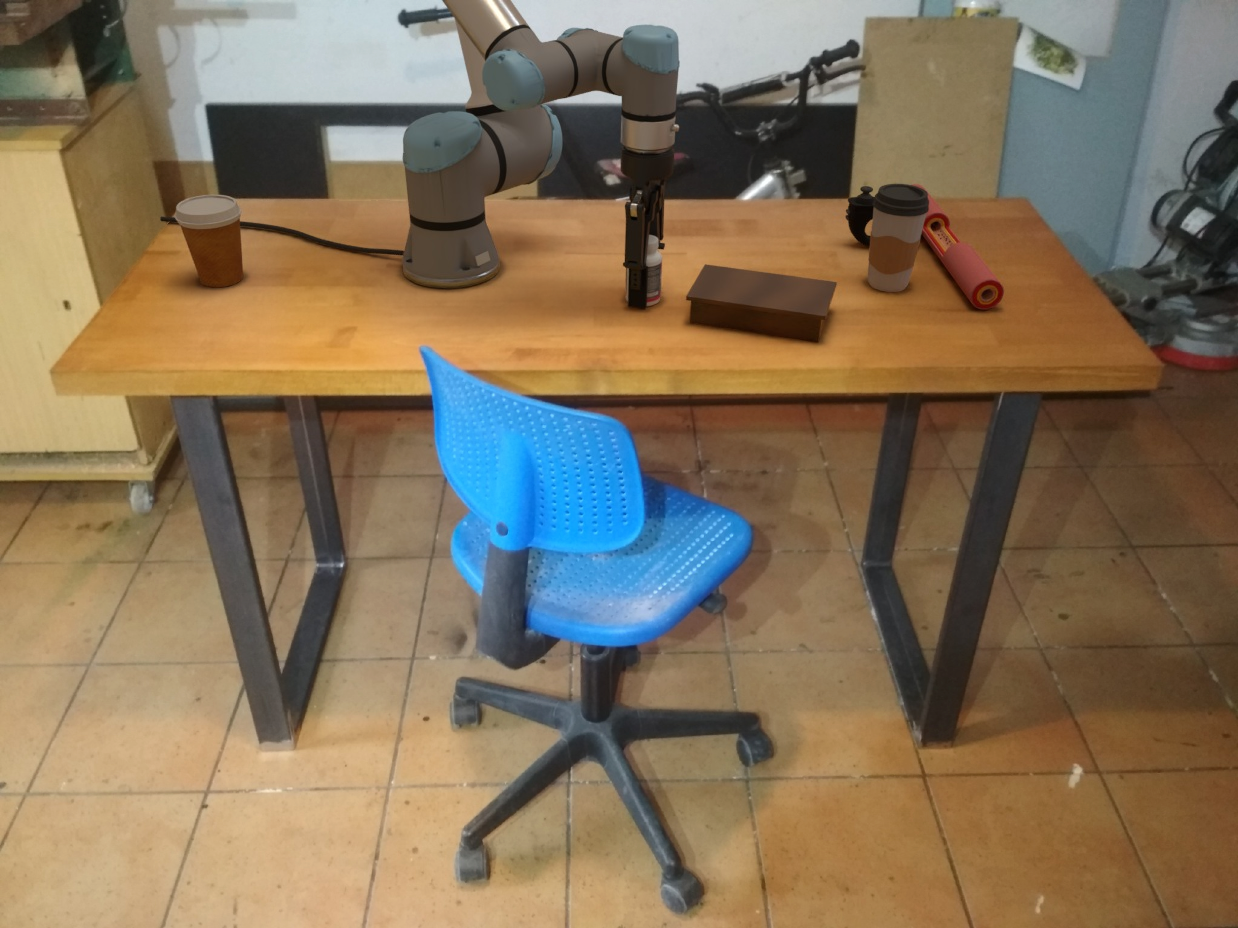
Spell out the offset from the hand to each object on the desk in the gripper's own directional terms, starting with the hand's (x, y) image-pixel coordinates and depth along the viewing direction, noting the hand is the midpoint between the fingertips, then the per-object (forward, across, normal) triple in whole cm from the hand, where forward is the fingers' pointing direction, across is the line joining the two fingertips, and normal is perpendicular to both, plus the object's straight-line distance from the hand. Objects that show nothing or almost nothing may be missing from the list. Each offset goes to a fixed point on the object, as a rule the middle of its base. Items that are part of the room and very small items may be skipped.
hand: (642, 298), depth 161 cm
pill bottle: (+1, 0, 0) cm, 1 cm away
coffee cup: (+1, +18, -35) cm, 39 cm away
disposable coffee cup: (+1, -14, +64) cm, 66 cm away
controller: (+1, +34, -32) cm, 47 cm away
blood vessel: (+1, +33, -43) cm, 54 cm away
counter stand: (0, 0, -18) cm, 18 cm away
